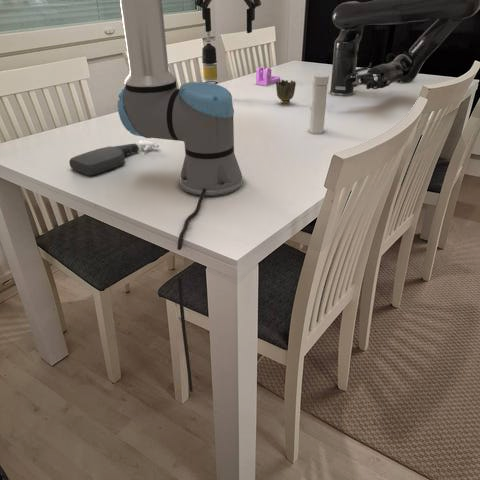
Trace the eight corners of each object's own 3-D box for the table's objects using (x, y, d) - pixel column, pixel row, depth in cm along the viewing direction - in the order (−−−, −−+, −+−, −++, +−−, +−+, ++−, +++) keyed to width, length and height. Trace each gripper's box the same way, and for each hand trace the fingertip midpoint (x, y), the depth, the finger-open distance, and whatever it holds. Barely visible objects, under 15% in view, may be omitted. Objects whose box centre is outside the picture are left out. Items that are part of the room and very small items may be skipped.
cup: (272, 105, 169) (272, 83, 165) (279, 100, 174) (280, 79, 170) (290, 107, 166) (291, 85, 162) (297, 102, 171) (298, 80, 167)
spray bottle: (67, 168, 120) (139, 144, 136) (91, 178, 114) (163, 151, 130) (65, 157, 118) (137, 134, 134) (89, 167, 112) (162, 142, 128)
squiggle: (400, 92, 202) (376, 71, 205) (417, 76, 202) (392, 56, 205) (405, 81, 191) (380, 59, 194) (423, 64, 191) (397, 42, 194)
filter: (220, 99, 177) (217, 15, 161) (206, 100, 176) (202, 16, 160) (215, 96, 182) (212, 14, 166) (202, 97, 180) (197, 14, 164)
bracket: (266, 85, 195) (266, 69, 192) (256, 84, 198) (256, 67, 195) (282, 80, 204) (282, 64, 200) (272, 78, 207) (272, 62, 203)
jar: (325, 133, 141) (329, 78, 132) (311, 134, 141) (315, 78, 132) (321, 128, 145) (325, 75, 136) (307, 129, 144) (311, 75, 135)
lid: (330, 84, 133) (330, 76, 132) (314, 85, 132) (314, 77, 131) (325, 81, 137) (326, 73, 136) (310, 81, 137) (310, 74, 135)
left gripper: (272, -51, 127) (270, 31, 138) (192, -49, 134) (197, 29, 145) (264, -51, 121) (263, 34, 132) (181, -49, 128) (187, 32, 139)
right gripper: (365, 62, 160) (339, 69, 151) (401, 67, 152) (376, 74, 142) (362, 84, 164) (337, 92, 155) (398, 89, 156) (373, 98, 146)
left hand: (228, 32), depth 139 cm, fingers open, 13 cm apart
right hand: (356, 84), depth 148 cm, fingers open, 8 cm apart
